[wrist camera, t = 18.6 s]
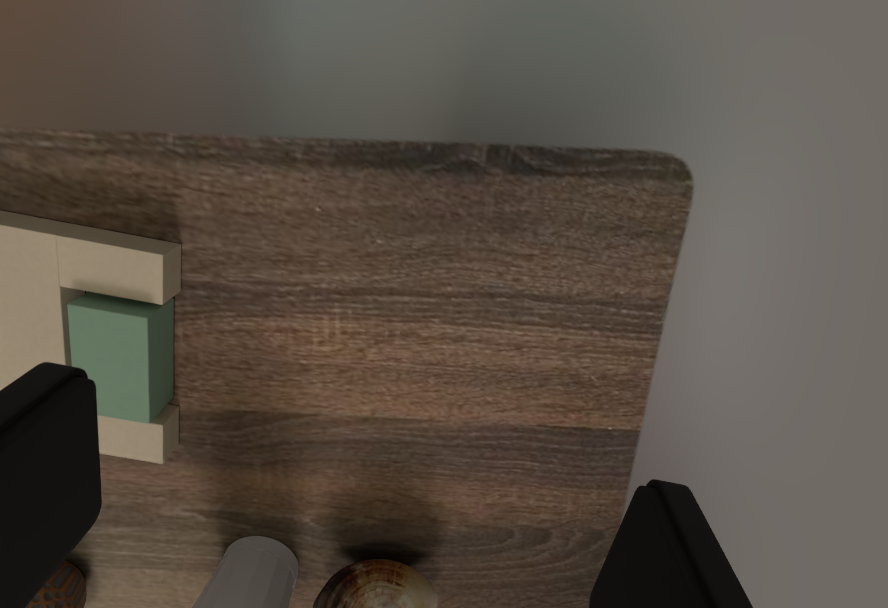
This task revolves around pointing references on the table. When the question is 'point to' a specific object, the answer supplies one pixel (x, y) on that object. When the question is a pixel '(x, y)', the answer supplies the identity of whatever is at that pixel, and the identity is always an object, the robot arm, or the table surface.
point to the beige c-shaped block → (67, 278)
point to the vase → (62, 589)
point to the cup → (252, 576)
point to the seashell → (377, 587)
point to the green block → (124, 353)
